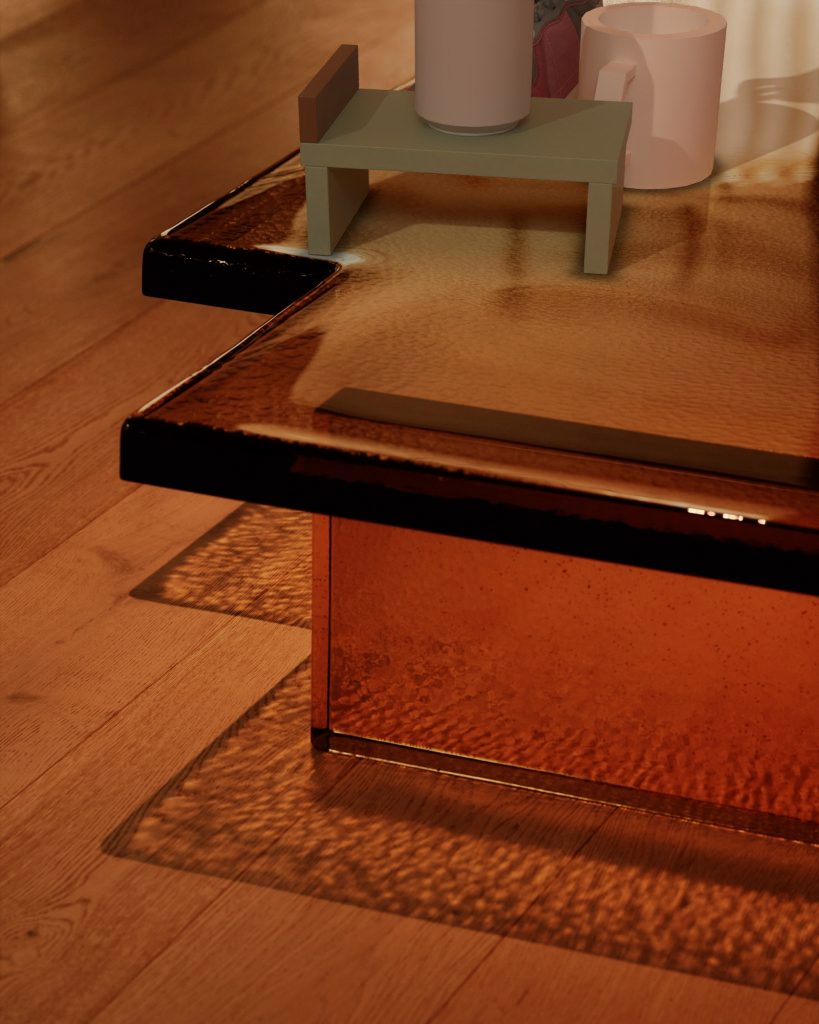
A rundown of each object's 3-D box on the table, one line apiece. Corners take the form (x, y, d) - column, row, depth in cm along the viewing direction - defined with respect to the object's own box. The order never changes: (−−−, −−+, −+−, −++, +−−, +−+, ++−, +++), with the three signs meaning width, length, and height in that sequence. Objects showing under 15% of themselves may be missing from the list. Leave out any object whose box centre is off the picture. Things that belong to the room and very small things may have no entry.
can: (432, 100, 108) (432, -86, 102) (541, 109, 106) (548, -81, 100) (401, 135, 102) (399, -61, 96) (516, 144, 100) (522, -55, 94)
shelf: (626, 208, 112) (635, 57, 106) (611, 275, 101) (621, 112, 96) (345, 191, 115) (341, 43, 109) (304, 254, 105) (297, 95, 99)
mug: (676, 213, 111) (689, 58, 105) (538, 192, 114) (543, 42, 109) (729, 153, 121) (743, 10, 116) (601, 136, 125) (608, -4, 119)
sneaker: (373, 159, 121) (370, -3, 114) (525, 64, 142) (529, -78, 136) (496, 180, 116) (500, 13, 110) (634, 78, 138) (643, -67, 132)
